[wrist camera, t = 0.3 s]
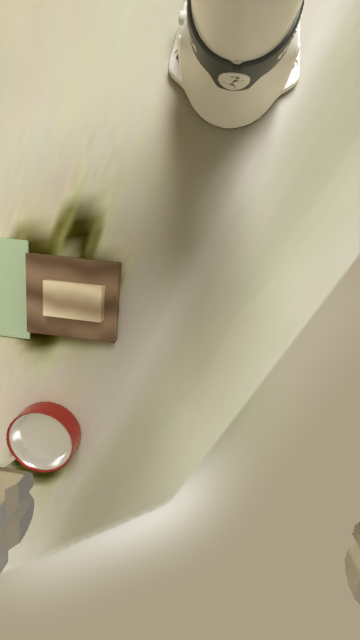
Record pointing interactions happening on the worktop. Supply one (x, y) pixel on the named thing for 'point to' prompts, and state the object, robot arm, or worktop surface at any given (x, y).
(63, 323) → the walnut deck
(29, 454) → the red saucepan
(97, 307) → the birch tile
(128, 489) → the worktop surface
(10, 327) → the green mat
